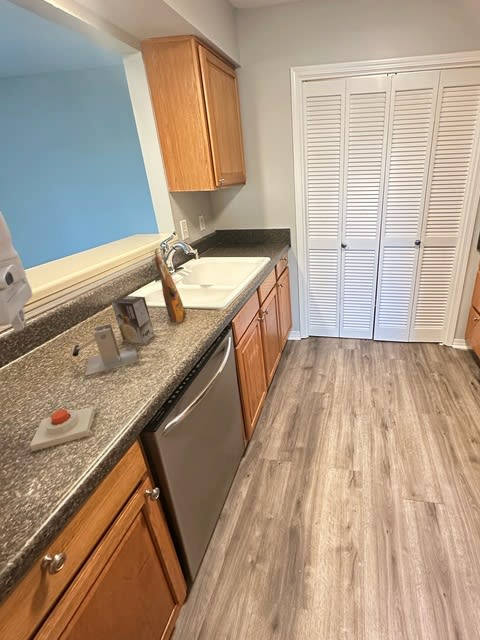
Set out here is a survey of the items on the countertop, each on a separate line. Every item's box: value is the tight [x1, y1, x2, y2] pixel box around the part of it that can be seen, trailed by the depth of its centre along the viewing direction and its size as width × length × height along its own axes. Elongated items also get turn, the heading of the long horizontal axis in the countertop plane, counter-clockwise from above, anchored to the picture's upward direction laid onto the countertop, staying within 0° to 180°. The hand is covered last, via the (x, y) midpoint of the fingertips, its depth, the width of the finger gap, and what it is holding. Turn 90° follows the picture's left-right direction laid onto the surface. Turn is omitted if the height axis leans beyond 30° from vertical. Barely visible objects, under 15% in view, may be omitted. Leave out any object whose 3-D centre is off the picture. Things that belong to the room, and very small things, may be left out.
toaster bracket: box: [85, 322, 138, 377], centre depth 101 cm, size 14×11×13 cm
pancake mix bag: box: [154, 248, 185, 324], centre depth 129 cm, size 7×19×28 cm, turn 16°
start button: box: [50, 409, 69, 425], centre depth 76 cm, size 3×3×2 cm
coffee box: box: [111, 295, 155, 344], centre depth 114 cm, size 9×6×16 cm
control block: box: [29, 406, 96, 452], centre depth 77 cm, size 11×9×4 cm
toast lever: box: [72, 327, 107, 358], centre depth 98 cm, size 11×5×2 cm, turn 117°
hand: (21, 328), depth 76 cm, fingers closed
